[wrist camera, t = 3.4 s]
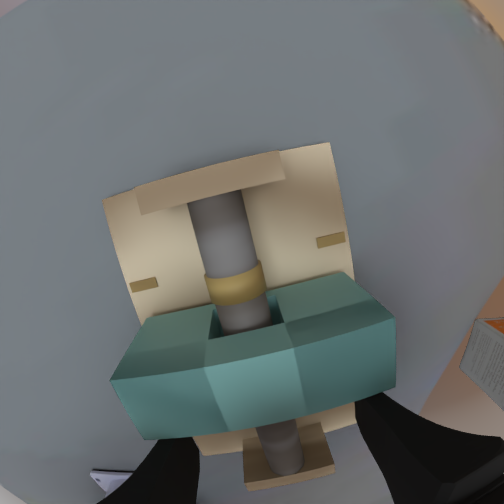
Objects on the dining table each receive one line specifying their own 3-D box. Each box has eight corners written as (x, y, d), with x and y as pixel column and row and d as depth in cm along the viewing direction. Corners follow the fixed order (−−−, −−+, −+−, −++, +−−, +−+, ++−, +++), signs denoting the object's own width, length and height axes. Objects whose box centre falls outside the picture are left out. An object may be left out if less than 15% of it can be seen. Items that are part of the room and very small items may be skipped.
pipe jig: (361, 412, 18) (384, 459, 13) (204, 447, 18) (199, 498, 13) (324, 144, 14) (360, 129, 10) (108, 198, 14) (62, 207, 10)
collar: (350, 326, 15) (395, 386, 10) (167, 368, 15) (144, 439, 10) (343, 271, 14) (395, 317, 9) (147, 317, 14) (109, 380, 9)
